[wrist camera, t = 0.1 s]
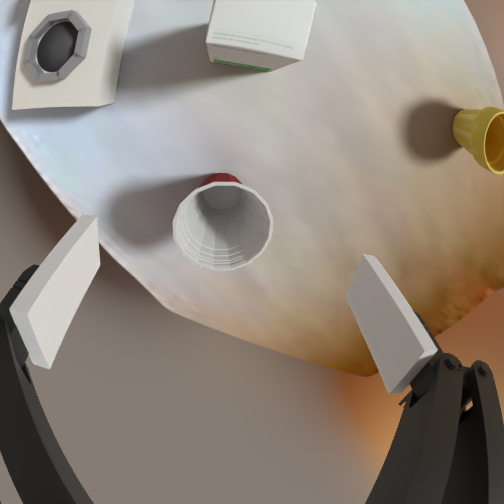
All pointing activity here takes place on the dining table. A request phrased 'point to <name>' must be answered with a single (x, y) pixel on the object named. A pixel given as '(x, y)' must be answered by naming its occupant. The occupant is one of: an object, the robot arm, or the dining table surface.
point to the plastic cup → (222, 224)
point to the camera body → (71, 53)
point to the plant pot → (482, 136)
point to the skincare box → (259, 32)
